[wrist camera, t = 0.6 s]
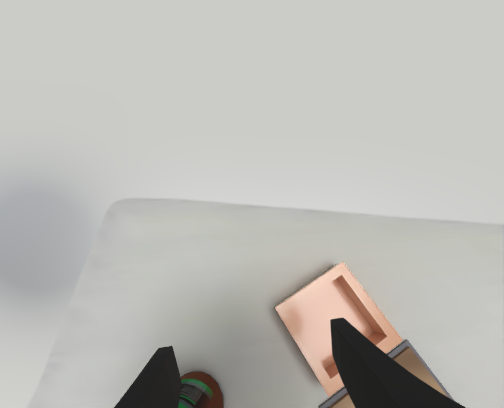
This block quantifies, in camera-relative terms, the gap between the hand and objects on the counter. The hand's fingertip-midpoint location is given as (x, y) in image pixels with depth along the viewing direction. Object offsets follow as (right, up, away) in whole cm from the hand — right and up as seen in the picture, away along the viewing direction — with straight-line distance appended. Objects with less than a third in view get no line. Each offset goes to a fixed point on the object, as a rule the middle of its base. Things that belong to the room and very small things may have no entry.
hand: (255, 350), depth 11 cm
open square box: (+10, -9, +22) cm, 26 cm away
